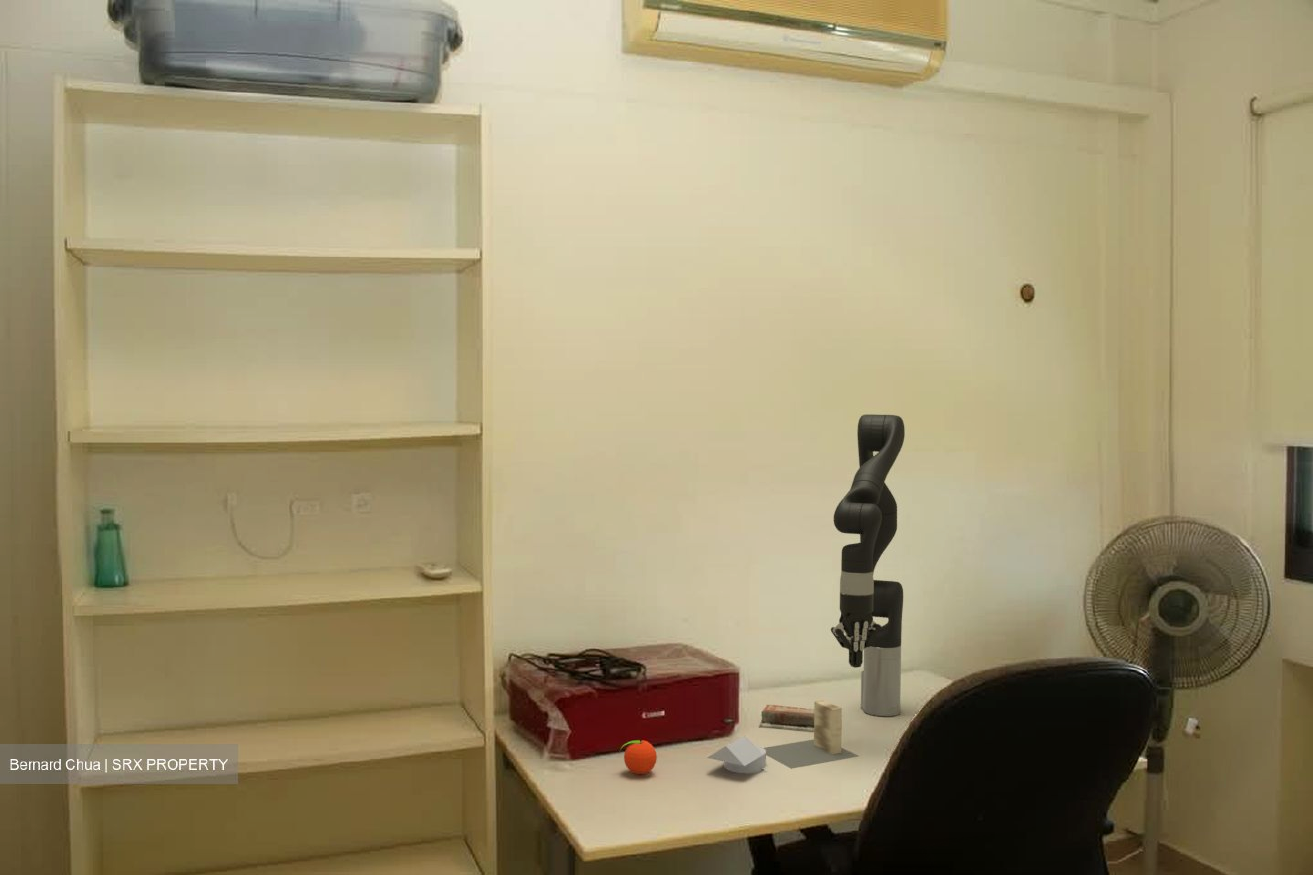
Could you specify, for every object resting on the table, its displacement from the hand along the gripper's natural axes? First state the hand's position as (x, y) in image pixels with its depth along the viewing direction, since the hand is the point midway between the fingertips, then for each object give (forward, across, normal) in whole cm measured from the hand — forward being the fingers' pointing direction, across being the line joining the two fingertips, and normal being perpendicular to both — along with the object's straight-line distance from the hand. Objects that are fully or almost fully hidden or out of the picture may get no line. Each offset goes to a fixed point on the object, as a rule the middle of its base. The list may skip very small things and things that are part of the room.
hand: (855, 666), depth 249 cm
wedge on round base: (+19, +31, +1) cm, 36 cm away
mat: (+18, +13, 0) cm, 22 cm away
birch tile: (+18, +7, 0) cm, 19 cm away
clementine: (+19, +52, -6) cm, 56 cm away
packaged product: (+19, +3, -18) cm, 26 cm away
